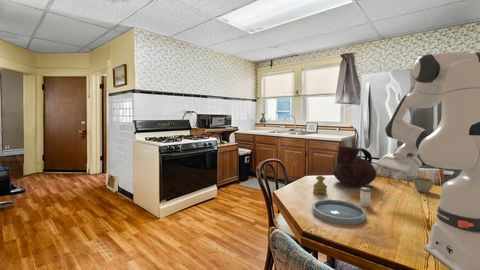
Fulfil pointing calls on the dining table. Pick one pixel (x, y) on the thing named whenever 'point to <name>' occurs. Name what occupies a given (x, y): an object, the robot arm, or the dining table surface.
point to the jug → (354, 167)
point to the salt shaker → (320, 186)
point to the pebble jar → (365, 196)
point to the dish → (339, 212)
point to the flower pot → (423, 184)
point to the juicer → (390, 171)
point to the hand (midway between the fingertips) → (386, 176)
